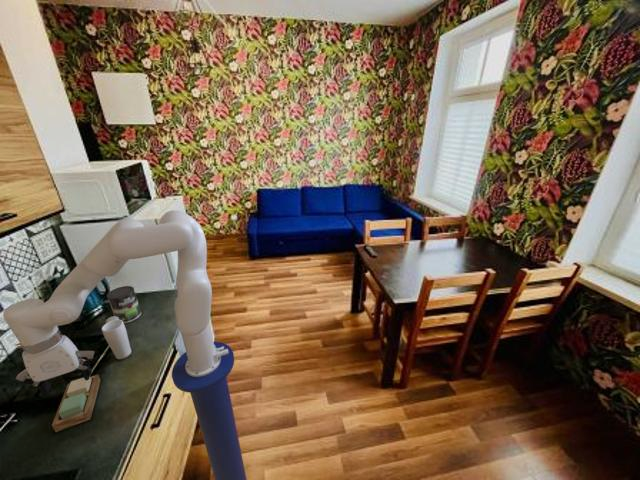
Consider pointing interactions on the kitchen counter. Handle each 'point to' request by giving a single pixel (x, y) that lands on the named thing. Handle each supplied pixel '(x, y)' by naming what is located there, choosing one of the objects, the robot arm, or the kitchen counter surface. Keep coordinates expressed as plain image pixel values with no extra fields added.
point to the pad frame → (80, 417)
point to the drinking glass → (117, 338)
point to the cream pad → (79, 387)
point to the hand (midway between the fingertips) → (68, 383)
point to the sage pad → (73, 405)
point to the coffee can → (124, 303)
